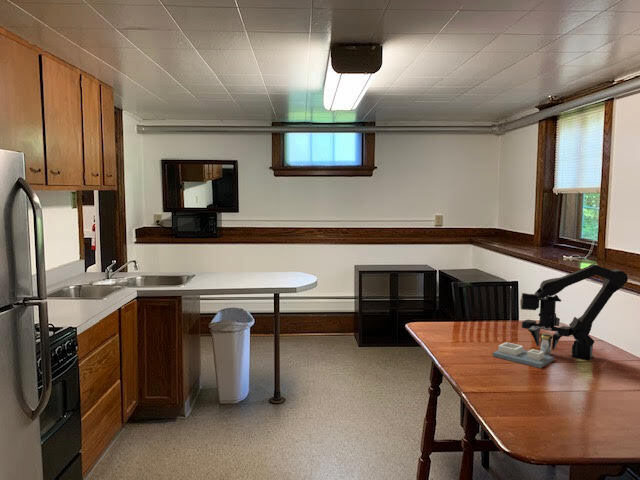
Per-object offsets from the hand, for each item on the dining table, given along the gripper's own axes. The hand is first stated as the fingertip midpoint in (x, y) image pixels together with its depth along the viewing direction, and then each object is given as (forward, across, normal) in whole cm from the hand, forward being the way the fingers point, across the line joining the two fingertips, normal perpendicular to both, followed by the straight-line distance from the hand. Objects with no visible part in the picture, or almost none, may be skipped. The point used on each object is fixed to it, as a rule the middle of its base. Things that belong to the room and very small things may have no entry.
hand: (545, 348), depth 197 cm
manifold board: (+2, +4, +13) cm, 14 cm away
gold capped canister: (+2, 0, 0) cm, 2 cm away
